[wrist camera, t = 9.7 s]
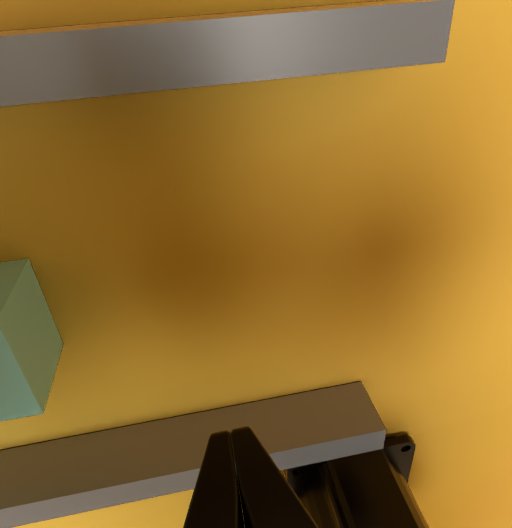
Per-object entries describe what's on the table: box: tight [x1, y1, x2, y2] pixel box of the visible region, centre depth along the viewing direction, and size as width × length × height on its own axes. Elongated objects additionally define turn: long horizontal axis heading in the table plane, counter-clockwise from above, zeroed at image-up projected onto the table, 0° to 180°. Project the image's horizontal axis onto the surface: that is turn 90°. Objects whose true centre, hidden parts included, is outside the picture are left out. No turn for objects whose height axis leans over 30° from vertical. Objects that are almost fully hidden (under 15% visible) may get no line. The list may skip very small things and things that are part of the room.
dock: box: [0, 0, 455, 528], centre depth 13 cm, size 15×23×3 cm
